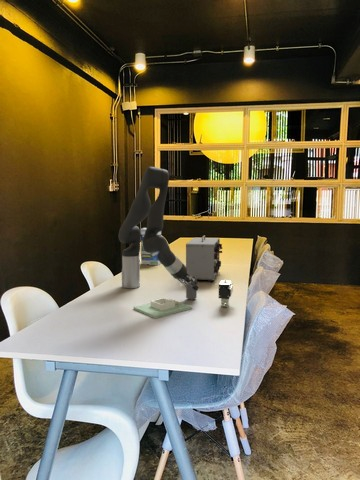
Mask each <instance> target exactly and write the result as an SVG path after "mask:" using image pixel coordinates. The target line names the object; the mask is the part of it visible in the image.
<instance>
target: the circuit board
mask: <svg viewBox="0 0 360 480" xmlns="http://www.w3.org/2000/svg"><path fill="white" fill-rule="evenodd" d="M192 307H193V306H192V305H189V304H186V303H183V302H181V301H178V300H176V299H172V298H166V297H161V298H157V299H153V300H150V302H149V303H145V304H141V305H136V306H133V310H134V311H137V312H139V313H142V314H144V315H146V316H148V317H151V318H154V319H158V318H162V317H165V316H168V315H169V316H170V315H173V314H176V313H180V312H183V311H184V312H185V311H187V310H191V309H192Z"/></svg>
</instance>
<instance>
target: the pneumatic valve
mask: <svg viewBox="0 0 360 480" xmlns="http://www.w3.org/2000/svg"><path fill="white" fill-rule="evenodd" d="M233 289H234V285H233V282H232V280H229V279H221V280H220V282H219V284H218V299H220V307H222V308H223V307H224V308H229V306H230V298H231V297H232V295H233V292H234V290H233Z"/></svg>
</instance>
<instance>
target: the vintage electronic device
mask: <svg viewBox="0 0 360 480" xmlns="http://www.w3.org/2000/svg"><path fill="white" fill-rule="evenodd" d="M220 242H221V240H220V238H218V237H206V235H203V236H202V237H193V238H192V239H190V240H189V241H188V242H187V243H185V266H186V268H187V273H188V274H189V275H190V276H191V277H193V276H194V277H195V278H197V280H204V281H205V280H206V281H208V282H209V283H212V282H213V281H215V279H216V277H217V275H218V272H219V271H220V267H221V266H222V261H221V260H220V254H222V253H223V246H222V245H223V243H220Z"/></svg>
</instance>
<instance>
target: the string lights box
mask: <svg viewBox="0 0 360 480" xmlns="http://www.w3.org/2000/svg"><path fill="white" fill-rule="evenodd" d="M146 228H147V227H142V228H141V229H140V255H141V256H140V261H141V264H140V265H147V264H149V265H151V266H160V265H162V264H161V262H160V261H159V260H158V258H157V255H158V253H159V251H158V252H153V253H147V252H146V251H145V250H144V248H143V238H144V234H145V231H146ZM157 235H161V236H162V231H160V232H158V233H157Z"/></svg>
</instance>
